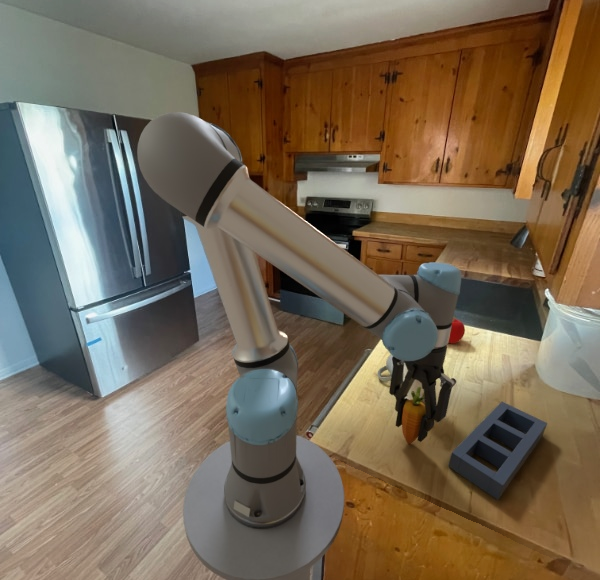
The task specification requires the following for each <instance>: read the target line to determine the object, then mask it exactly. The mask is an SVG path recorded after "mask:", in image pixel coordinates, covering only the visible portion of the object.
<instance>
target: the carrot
mask: <svg viewBox="0 0 600 580" xmlns="http://www.w3.org/2000/svg"><path fill="white" fill-rule="evenodd" d="M420 391H421V387H418V388H417V392H416V395H415V392H414V391H412V392H411V395H412V397H413V399H411V400H407V401H406V402H405V405H404V407H403V415H402V425H401V429H402V434H403V438H404V440H405V442H406V443H407V444H408V445H410V444H413V443H414V442H415V441H416V440H417V439H418V434H419V429H420V424H421V419H422V416H423V415H425V414H426V412H425V403H424V402H422V401H423V400H425V399H424V395H422V397H419V396H420Z"/></svg>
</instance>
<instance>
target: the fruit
mask: <svg viewBox="0 0 600 580" xmlns="http://www.w3.org/2000/svg"><path fill="white" fill-rule="evenodd" d="M465 332H466V329H465V324H464V323H463V322H462V321H460V320H459V319H457V318H456V315H455V314H454V317H453V322H452V327H451V332H450V336H449V341H448V344H457V343H459V342H460V341H461V340H462V339H463V338H464V335H465V334H466V333H465Z"/></svg>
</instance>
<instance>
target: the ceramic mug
mask: <svg viewBox="0 0 600 580" xmlns="http://www.w3.org/2000/svg"><path fill="white" fill-rule="evenodd" d="M392 357H393V356H392V355H391V354H390V355H388V357H387V359H386V360H385V361H386V363H385V365H384V366H382V367H380V368H379V369H378V370H377V373H376V374H377V377H378V379H379V381H381V382H382V383H383V382H384V383H388V382H391V377H392V371H393V362H392ZM386 371H388V372H389V374H390V376H382V373H384V372H386ZM403 371H404V369H403ZM402 383H403V375H402V380H401V385H402Z"/></svg>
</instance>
